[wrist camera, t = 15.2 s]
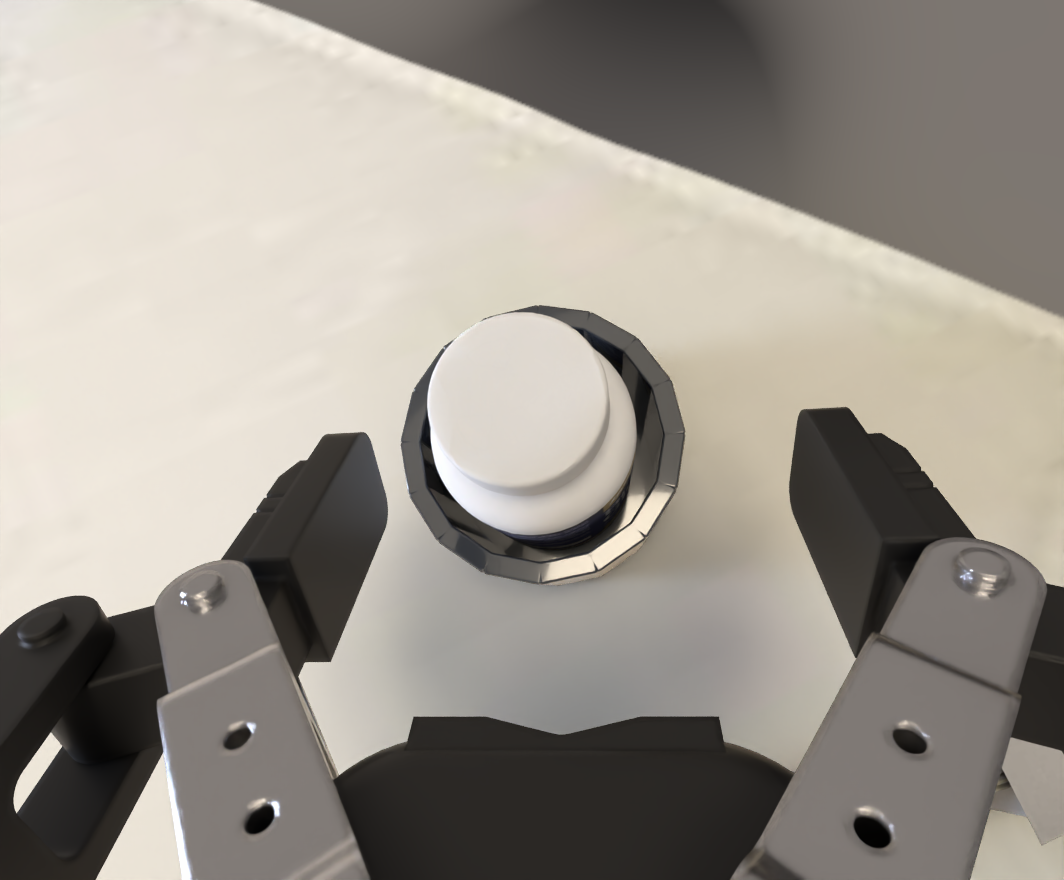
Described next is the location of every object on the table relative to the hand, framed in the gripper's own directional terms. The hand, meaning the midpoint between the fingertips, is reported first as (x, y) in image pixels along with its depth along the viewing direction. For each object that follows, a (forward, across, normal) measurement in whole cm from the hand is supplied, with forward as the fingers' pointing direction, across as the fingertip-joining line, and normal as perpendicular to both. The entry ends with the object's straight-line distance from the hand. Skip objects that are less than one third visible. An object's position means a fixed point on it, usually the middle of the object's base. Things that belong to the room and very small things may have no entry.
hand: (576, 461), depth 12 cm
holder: (+10, +1, +7) cm, 12 cm away
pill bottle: (+9, +1, +7) cm, 11 cm away
